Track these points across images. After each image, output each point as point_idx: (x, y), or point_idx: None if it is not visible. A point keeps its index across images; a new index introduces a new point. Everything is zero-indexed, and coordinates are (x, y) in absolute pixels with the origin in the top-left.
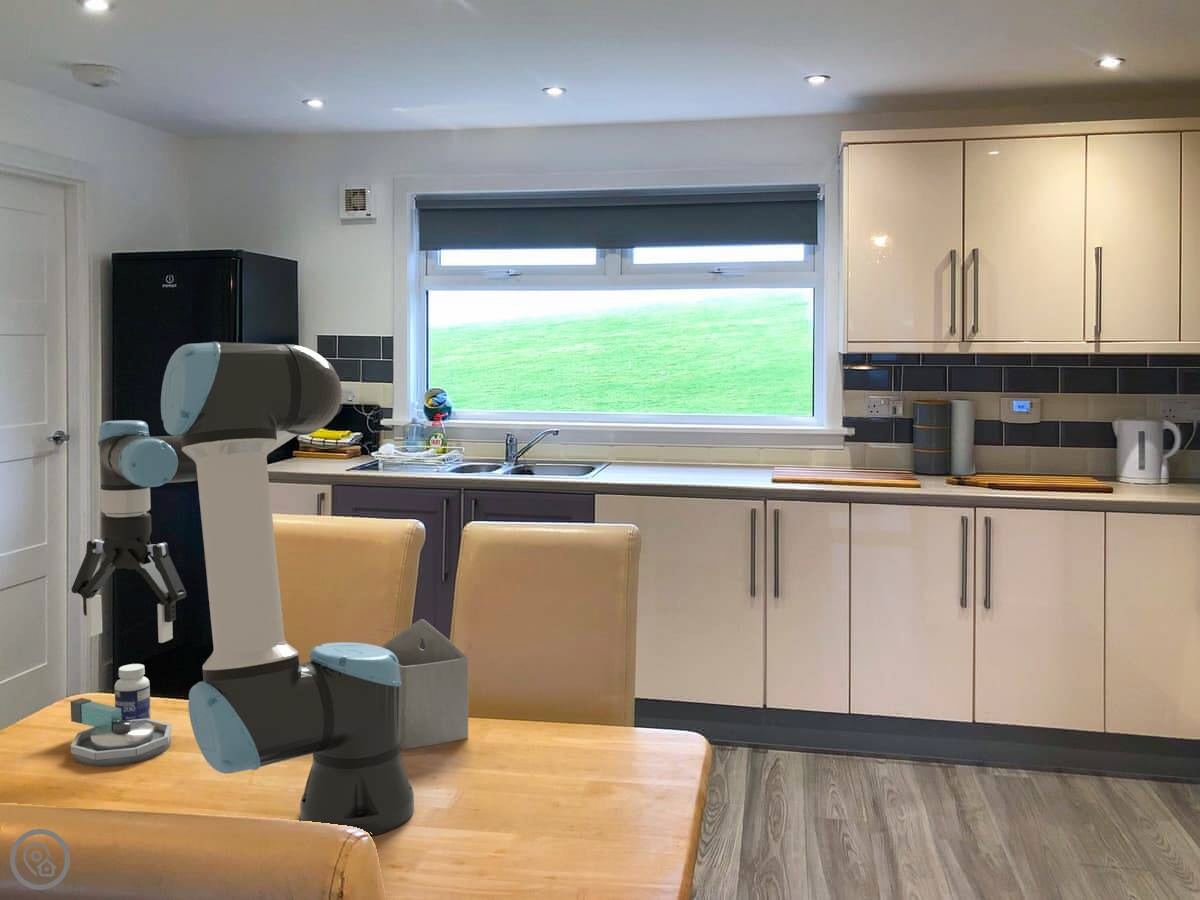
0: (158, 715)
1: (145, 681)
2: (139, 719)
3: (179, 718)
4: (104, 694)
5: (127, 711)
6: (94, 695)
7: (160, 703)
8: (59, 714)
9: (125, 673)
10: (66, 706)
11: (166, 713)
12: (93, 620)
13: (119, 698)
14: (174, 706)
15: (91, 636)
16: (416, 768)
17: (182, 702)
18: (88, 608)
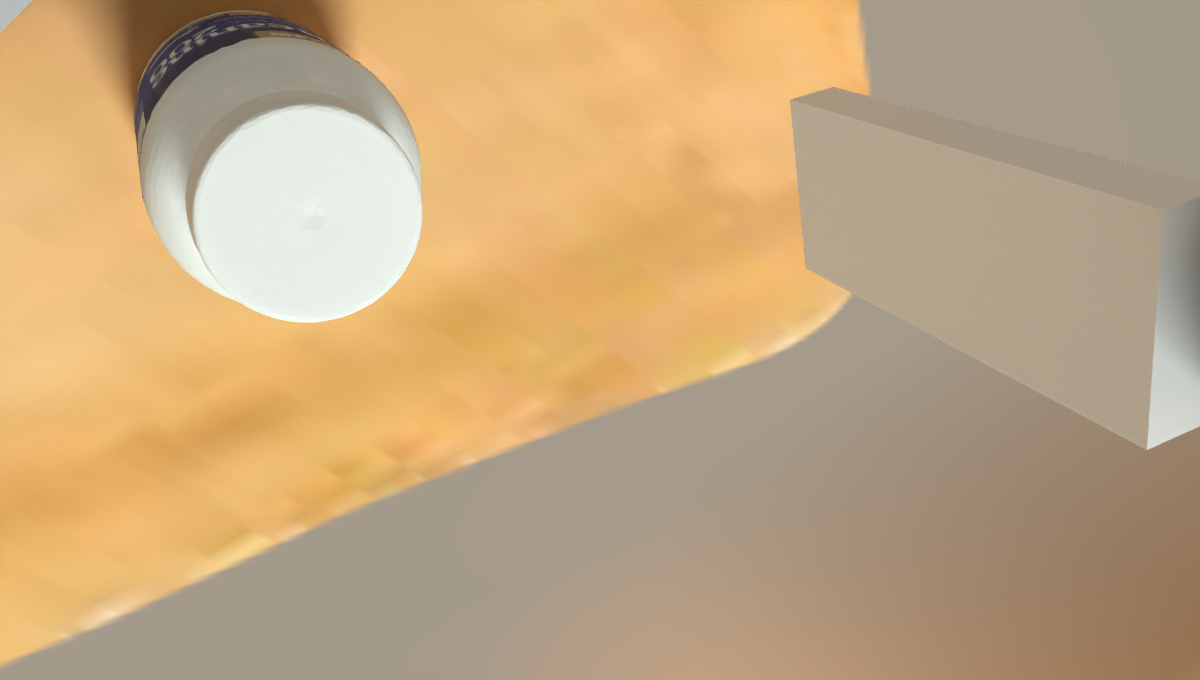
0: None
1: (170, 234)
2: (8, 13)
3: (54, 331)
4: (791, 337)
5: (185, 39)
6: (823, 300)
7: (414, 421)
8: (766, 8)
9: (255, 106)
10: None
11: (223, 341)
12: (908, 182)
13: (260, 30)
14: (294, 438)
15: (790, 100)
16: None
17: (314, 502)
18: (1061, 160)
